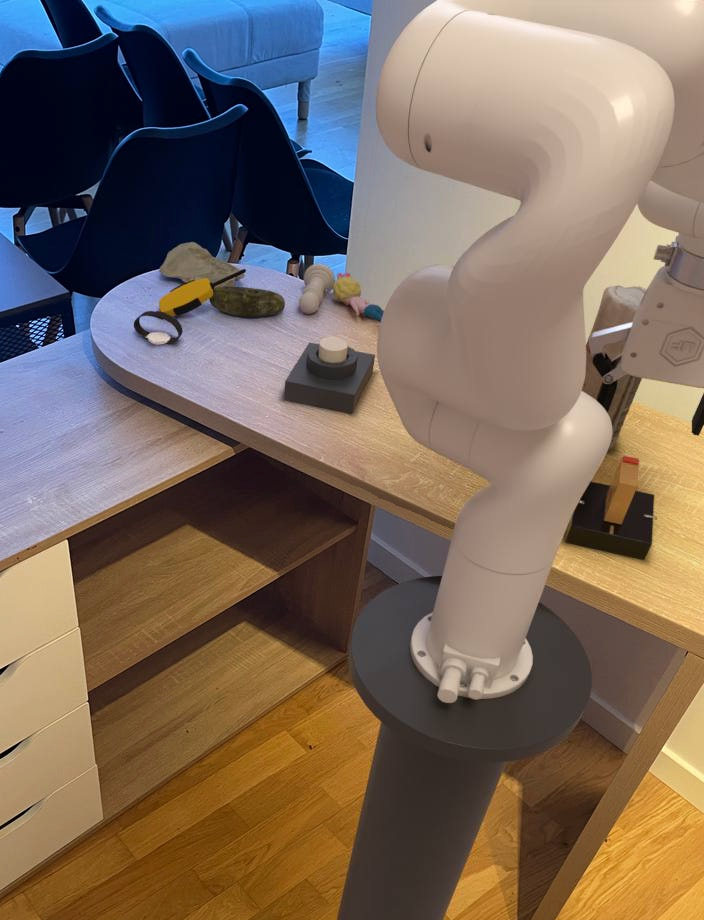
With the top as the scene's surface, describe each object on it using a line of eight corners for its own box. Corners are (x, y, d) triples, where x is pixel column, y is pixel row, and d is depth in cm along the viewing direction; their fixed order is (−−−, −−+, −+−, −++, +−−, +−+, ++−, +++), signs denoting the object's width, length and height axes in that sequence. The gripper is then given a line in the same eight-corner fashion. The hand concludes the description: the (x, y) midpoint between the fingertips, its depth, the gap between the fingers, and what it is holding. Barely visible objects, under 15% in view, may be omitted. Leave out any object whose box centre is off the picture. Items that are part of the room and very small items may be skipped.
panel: (647, 561, 104) (655, 543, 102) (561, 541, 106) (568, 523, 104) (650, 511, 111) (658, 493, 109) (569, 494, 113) (575, 476, 111)
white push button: (342, 366, 125) (344, 352, 124) (314, 361, 126) (316, 347, 125) (349, 353, 128) (351, 339, 126) (322, 348, 129) (323, 334, 127)
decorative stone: (279, 304, 148) (281, 280, 145) (286, 317, 145) (288, 293, 142) (208, 309, 146) (208, 285, 144) (213, 323, 143) (213, 298, 140)
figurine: (405, 337, 143) (346, 297, 152) (415, 310, 141) (354, 271, 149) (379, 339, 140) (320, 298, 148) (388, 311, 137) (328, 271, 145)
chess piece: (339, 290, 150) (326, 320, 145) (309, 295, 152) (295, 324, 147) (331, 260, 146) (317, 289, 141) (300, 265, 149) (286, 295, 143)
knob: (621, 524, 105) (638, 484, 101) (603, 520, 105) (619, 480, 101) (623, 498, 108) (640, 457, 104) (606, 494, 109) (622, 454, 105)
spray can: (569, 414, 126) (617, 272, 112) (626, 435, 122) (683, 292, 108) (543, 439, 121) (589, 295, 107) (601, 462, 118) (656, 317, 104)
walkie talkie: (165, 324, 144) (251, 286, 140) (160, 316, 143) (246, 277, 138) (162, 303, 146) (246, 264, 142) (156, 295, 145) (241, 255, 140)
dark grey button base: (352, 414, 125) (356, 381, 122) (283, 400, 127) (285, 367, 124) (372, 373, 133) (377, 341, 129) (307, 360, 135) (310, 329, 132)
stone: (254, 267, 151) (214, 293, 147) (254, 283, 153) (214, 309, 149) (188, 237, 157) (148, 260, 153) (189, 253, 159) (150, 276, 155)
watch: (142, 328, 141) (132, 344, 140) (137, 304, 137) (126, 319, 136) (186, 339, 139) (176, 354, 138) (182, 313, 135) (172, 329, 134)
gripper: (614, 267, 86) (564, 422, 98) (812, 296, 82) (733, 454, 94) (618, 237, 91) (570, 388, 103) (805, 263, 87) (731, 417, 99)
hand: (648, 419), depth 99 cm, fingers open, 9 cm apart
